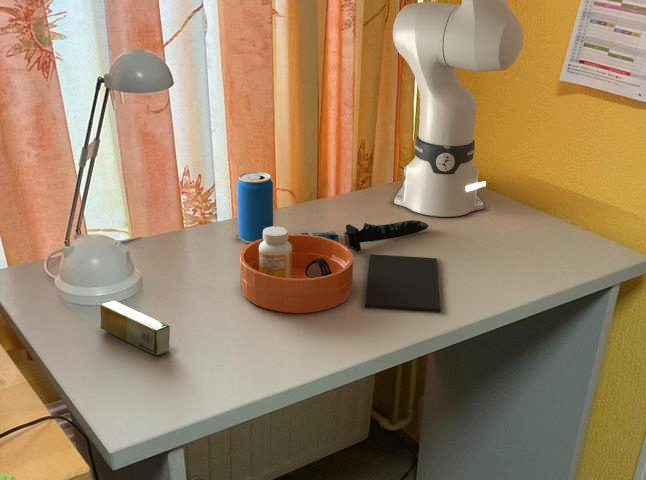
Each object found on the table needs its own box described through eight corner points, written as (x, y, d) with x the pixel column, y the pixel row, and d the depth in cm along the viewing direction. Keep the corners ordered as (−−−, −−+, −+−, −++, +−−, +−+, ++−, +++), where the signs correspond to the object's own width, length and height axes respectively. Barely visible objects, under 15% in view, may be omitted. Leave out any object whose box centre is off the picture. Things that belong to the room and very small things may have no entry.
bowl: (251, 263, 139) (250, 231, 136) (354, 269, 139) (356, 237, 135) (231, 311, 124) (230, 276, 120) (348, 318, 123) (350, 283, 120)
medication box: (171, 351, 113) (171, 325, 111) (156, 357, 111) (157, 331, 109) (113, 323, 118) (113, 298, 116) (99, 328, 116) (98, 303, 114)
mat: (369, 257, 143) (369, 254, 143) (436, 261, 143) (436, 258, 143) (364, 307, 126) (365, 304, 126) (440, 312, 126) (440, 309, 126)
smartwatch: (328, 281, 133) (329, 253, 131) (332, 295, 129) (332, 266, 126) (304, 281, 133) (304, 254, 130) (306, 295, 128) (307, 267, 126)
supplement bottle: (276, 296, 128) (276, 240, 123) (252, 285, 130) (251, 231, 125) (298, 285, 131) (299, 230, 126) (274, 275, 134) (274, 222, 129)
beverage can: (279, 241, 148) (279, 179, 142) (248, 248, 145) (247, 184, 138) (262, 230, 152) (261, 168, 146) (232, 236, 149) (230, 174, 143)
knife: (300, 258, 138) (303, 234, 136) (292, 252, 140) (294, 228, 138) (434, 243, 155) (438, 222, 153) (424, 238, 157) (429, 216, 155)
